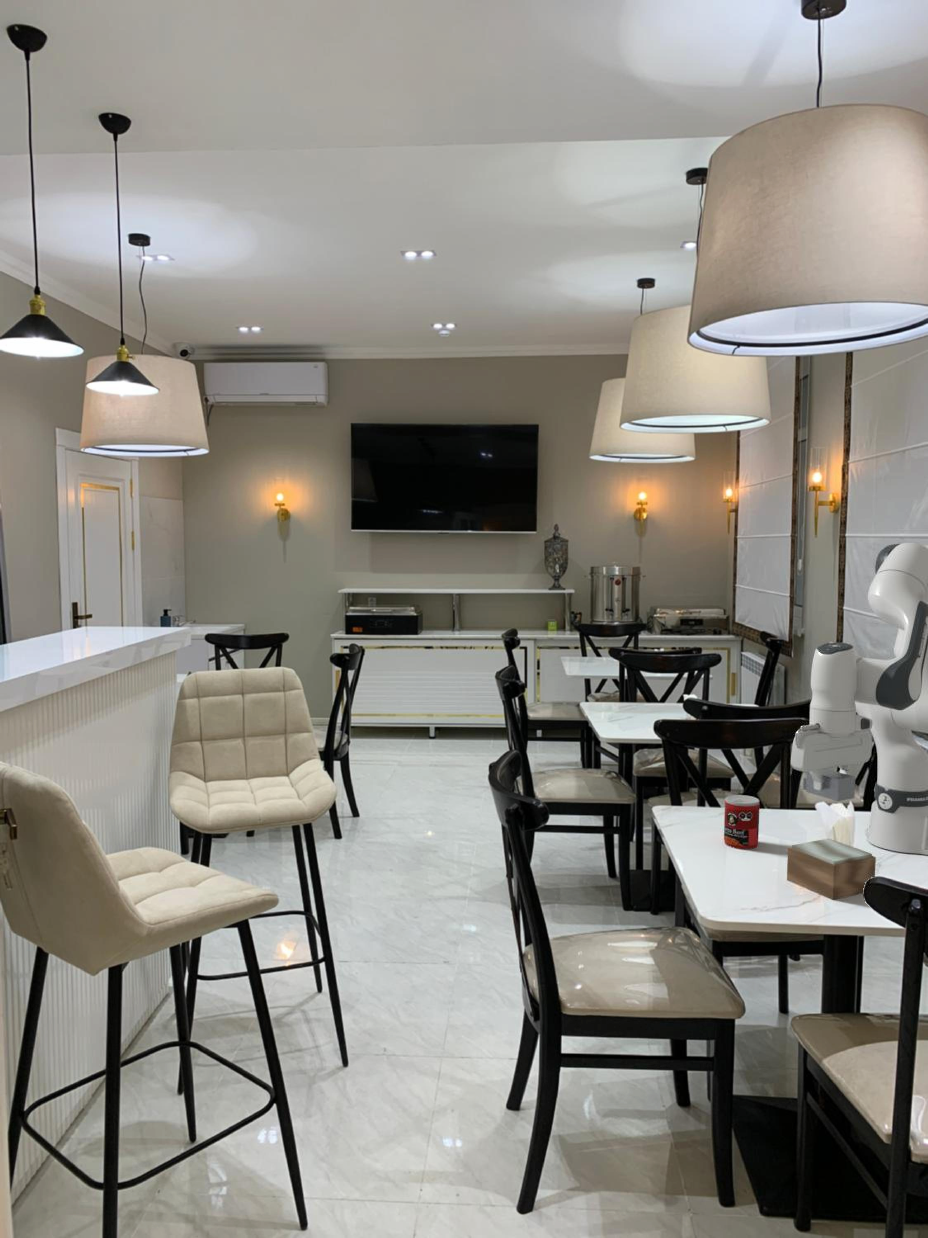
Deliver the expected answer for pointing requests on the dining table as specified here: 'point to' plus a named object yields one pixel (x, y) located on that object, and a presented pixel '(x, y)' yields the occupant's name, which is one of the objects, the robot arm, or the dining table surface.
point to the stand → (830, 868)
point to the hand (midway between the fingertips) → (830, 787)
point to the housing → (832, 785)
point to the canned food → (741, 821)
